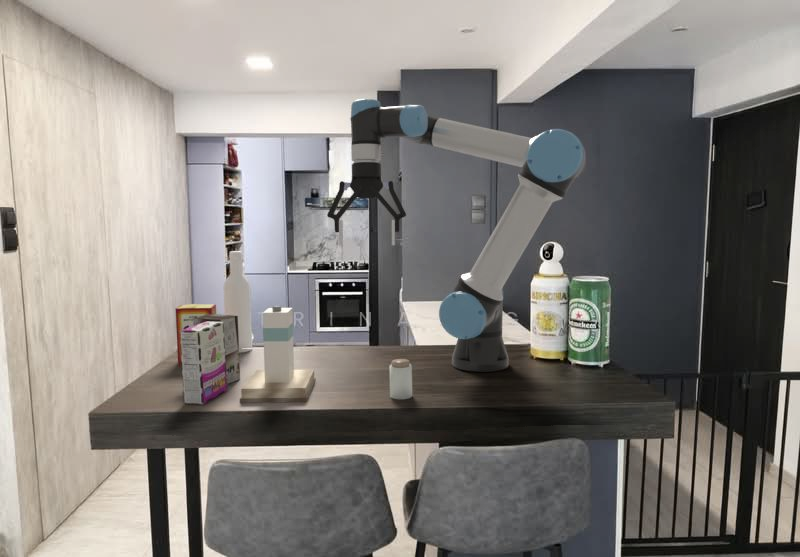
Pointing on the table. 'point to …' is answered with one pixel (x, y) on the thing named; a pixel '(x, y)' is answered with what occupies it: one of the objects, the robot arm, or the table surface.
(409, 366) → the ceramic jar
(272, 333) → the carton
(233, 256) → the bottle
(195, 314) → the baking soda box
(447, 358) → the table surface
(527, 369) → the table surface
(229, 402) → the table surface
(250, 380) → the podium
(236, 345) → the coffee box
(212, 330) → the candy bar box
